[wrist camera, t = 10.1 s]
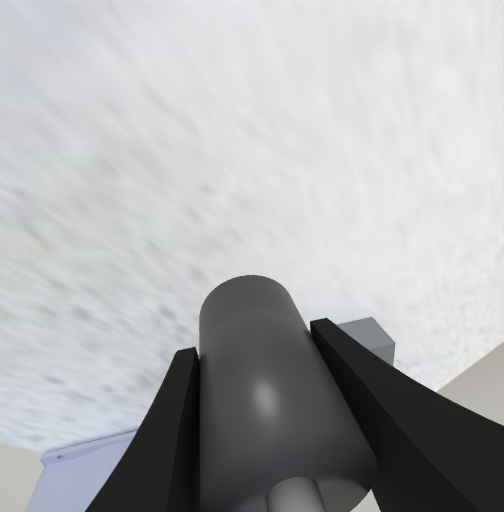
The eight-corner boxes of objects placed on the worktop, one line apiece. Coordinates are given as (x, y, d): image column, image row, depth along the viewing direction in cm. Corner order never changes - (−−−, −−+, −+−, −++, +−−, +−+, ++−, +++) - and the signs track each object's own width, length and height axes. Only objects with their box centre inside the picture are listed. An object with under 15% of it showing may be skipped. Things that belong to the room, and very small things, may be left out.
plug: (209, 363, 13) (224, 662, 6) (189, 286, 11) (172, 577, 4) (297, 343, 13) (411, 601, 6) (290, 266, 12) (438, 499, 4)
